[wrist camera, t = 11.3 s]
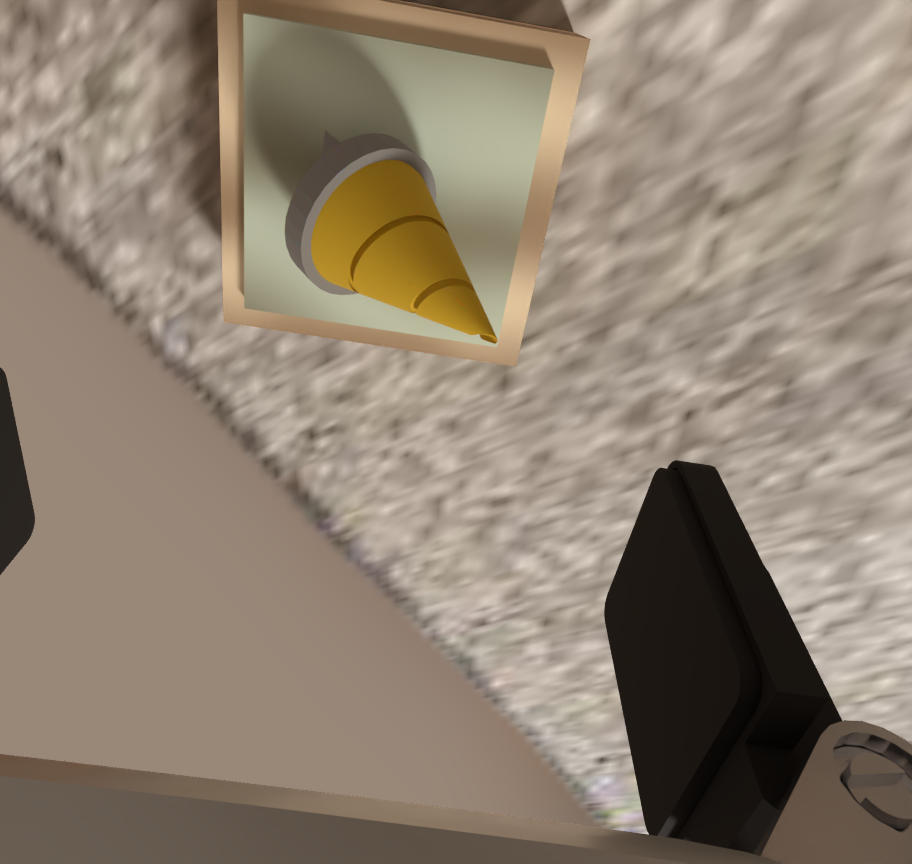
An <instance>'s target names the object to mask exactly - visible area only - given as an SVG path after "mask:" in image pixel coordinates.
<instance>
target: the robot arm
mask: <svg viewBox="0 0 912 864" xmlns="http://www.w3.org/2000/svg"><path fill="white" fill-rule="evenodd" d="M34 523H35V516H34V509H33V505H32V500H31V495H30V490H29V486H28V481H27V475H26V470H25V466H24V461H23V456H22V451H21V446H20V441H19V436H18V431H17V427H16V422H15V417H14V412H13V407H12V402H11V397H10V392H9V388H8V382H7V378H6V375H5V372H4V371H3V370H2V369H1V368H0V575H1V573H2V572H3V571H4V570H5V568H6V567H7V566H8V565H9V563H10V562H11V561H12V560H13V559H14V557H15V556H16V555H17V554H18V552H19V551H20V550H21V549H22V547H23V546H24V545H25V544H26V543H27V541H28V540H29V538H30V536H31V534H32V532H33V528H34ZM604 614H605V624H606V629H607V634H608V639H609V644H610V649H611V654H612V659H613V664H614V669H615V674H616V679H617V684H618V689H619V694H620V700H621V705H622V710H623V715H624V720H625V725H626V730H627V735H628V740H629V745H630V750H631V755H632V760H633V765H634V770H635V775H636V780H637V785H638V791H639V796H640V801H641V806H642V811H643V816H644V821H645V825H646V829H647V831H648V833H649V835H647V834H640V833H633V832H626V831H619V830H612V829H605V828H598V827H591V826H584V825H577V824H569V823H562V822H555V821H548V820H541V819H533V818H525V817H517V816H509V815H501V814H492V813H485V812H477V811H469V810H461V809H453V808H445V807H437V806H429V805H421V804H413V803H405V802H397V801H389V800H380V799H372V798H365V797H357V796H348V795H341V794H333V793H324V792H316V791H308V790H300V789H292V788H283V787H275V786H266V785H258V784H250V783H241V782H233V781H225V780H217V779H208V778H200V777H191V776H183V775H175V774H166V773H157V772H149V771H141V770H132V769H124V768H116V767H107V766H98V765H90V764H82V763H73V762H65V761H56V760H48V759H39V758H30V757H21V756H13V755H4V754H0V864H912V745H911V744H910V743H909V742H907V741H906V740H905V739H903V738H901V737H899V736H897V735H895V734H894V733H892V732H890V731H888V730H886V729H884V728H882V727H879V726H875V725H872V724H869V723H866V722H863V721H846V720H844V721H842V719H841V717H840V715H839V713H838V711H837V709H836V707H835V705H834V703H833V701H832V699H831V697H830V695H829V693H828V691H827V689H826V687H825V685H824V683H823V681H822V679H821V677H820V675H819V673H818V671H817V669H816V667H815V665H814V663H813V661H812V659H811V657H810V655H809V653H808V650H807V648H806V646H805V644H804V642H803V640H802V638H801V636H800V634H799V632H798V630H797V628H796V626H795V624H794V622H793V620H792V618H791V616H790V614H789V612H788V610H787V608H786V606H785V604H784V602H783V600H782V598H781V596H780V594H779V592H778V590H777V588H776V586H775V584H774V582H773V580H772V578H771V576H770V574H769V572H768V571H767V569H766V568H765V566H764V565H763V563H762V561H761V559H760V557H759V555H758V552H757V550H756V548H755V546H754V544H753V542H752V540H751V538H750V536H749V534H748V532H747V530H746V528H745V526H744V524H743V522H742V520H741V518H740V516H739V514H738V512H737V510H736V508H735V506H734V504H733V502H732V500H731V498H730V495H729V493H728V491H727V489H726V487H725V485H724V483H723V481H722V479H721V477H720V475H719V473H718V471H717V470H716V468H715V467H713V466H710V465H703V464H697V463H690V462H684V461H677V460H675V461H673V462H672V463H671V464H670V465H669V466H668V468H667V469H665V468H659V469H658V470H657V471H656V472H655V474H654V476H653V479H652V481H651V484H650V486H649V489H648V492H647V494H646V497H645V499H644V502H643V504H642V507H641V510H640V512H639V515H638V517H637V520H636V522H635V525H634V528H633V530H632V533H631V535H630V538H629V540H628V543H627V546H626V548H625V551H624V553H623V556H622V558H621V561H620V564H619V566H618V569H617V571H616V574H615V576H614V579H613V582H612V584H611V587H610V589H609V592H608V594H607V598H606V602H605V611H604Z"/></svg>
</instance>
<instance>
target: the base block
mask: <svg viewBox="0 0 912 864" xmlns="http://www.w3.org/2000/svg"><path fill="white" fill-rule="evenodd" d="M217 20H218V70H219V119H220V168H221V218H222V267H223V316H224V322H228V323H234V324H241V325H247V326H254V327H261V328H267V329H274V330H280V331H287V332H293V333H300V334H306V335H313V336H319V337H326V338H333V339H339V340H346V341H352V342H359V343H365V344H372V345H378V346H385V347H392V348H398V349H405V350H411V351H418V352H424V353H431V354H437V355H444V356H450V357H457V358H464V359H470V360H477V361H483V362H490V363H496V364H503V365H509V366H516V363H517V359H518V355H519V350H520V346H521V341H522V337H523V333H524V328H525V324H526V319H527V315H528V311H529V306H530V302H531V297H532V293H533V289H534V284H535V280H536V276H537V271H538V267H539V262H540V258H541V254H542V249H543V245H544V240H545V236H546V232H547V227H548V223H549V218H550V214H551V210H552V205H553V201H554V196H555V192H556V188H557V183H558V179H559V174H560V170H561V166H562V161H563V157H564V152H565V148H566V144H567V139H568V135H569V130H570V126H571V122H572V117H573V113H574V108H575V104H576V100H577V95H578V91H579V86H580V82H581V78H582V73H583V69H584V64H585V60H586V56H587V51H588V47H589V42H590V39H588V38H586V37H584V36H581V35H579V34H577V33H574V32H569V31H564V30H559V29H553V28H548V27H542V26H537V25H531V24H526V23H521V22H515V21H510V20H504V19H499V18H494V17H488V16H483V15H477V14H472V13H467V12H461V11H456V10H450V9H445V8H439V7H434V6H429V5H423V4H418V3H412V2H407V1H402V0H217ZM325 130H326V131H327V132H328V133H329V134H331V135H332V136H333V137H334V138H335V139H336V140H337V141H339V142H340V143H341V142H343V141H345V140H347V139H350V138H353V137H356V136H359V135H363V134H372V133H378V134H385V135H389V136H392V137H394V138H396V139H399V140H400V141H401V142H402V143H404V144H405V145H406V146H407V147H408V148H410V149H411V150H412V151H413V152H415V153H416V154H417V155H418V156H419V157H421V158H422V159H423V160H424V161H425V162H426V163H427V165H428V166H429V168H430V169H431V171H432V174H433V177H434V180H435V186H436V203H435V205H436V207H437V209H438V211H439V213H440V216H441V218H442V220H443V222H444V224H445V226H446V229H447V231H448V233H449V235H450V237H451V239H452V242H453V244H454V246H455V248H456V250H457V252H458V255H459V257H460V259H461V261H462V263H463V265H464V268H465V270H466V272H467V274H468V276H469V278H470V280H471V283H472V285H473V287H474V289H475V291H476V294H477V296H478V298H479V300H480V302H481V304H482V306H483V309H484V311H485V313H486V315H487V317H488V319H489V322H490V324H491V326H492V328H493V330H494V333H495V335H496V337H497V340H498V341H497V343H496V344H494V343H491V342H488V341H485V340H483V339H481V338H480V335H479V334H477V335H469V334H466V333H464V332H461V331H458V330H456V329H453V328H450V327H448V326H445V325H442V324H439V323H437V322H434V321H431V320H429V319H426V318H423V317H421V316H418V315H417V314H416V313H410V312H407V311H405V310H402V309H399V308H397V307H394V306H391V305H389V304H386V303H383V302H381V301H378V300H375V299H373V298H370V297H367V296H364V295H362V294H359V293H356V294H351V295H337V294H330V293H328V292H325V291H323V290H321V289H319V288H318V287H317V286H316V285H315V284H313V283H312V282H311V281H310V280H309V279H308V278H307V277H306V276H305V275H304V273H303V272H302V271H301V270H300V269H299V268H298V267H297V266H296V265H295V263H294V262H293V260H292V259H291V257H290V255H289V252H288V249H287V247H286V241H285V232H284V231H285V220H286V214H287V211H288V207H289V204H290V201H291V198H292V196H293V194H294V192H295V190H296V188H297V186H298V184H299V183H300V181H301V180H302V178H303V177H304V175H305V174H306V172H307V171H308V170H309V169H310V168H311V167H312V165H313V164H314V163H315V162H316V161H317V160H318V159H319V158H320V157H321V154H322V148H323V141H324V135H325Z"/></svg>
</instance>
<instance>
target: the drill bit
mask: <svg viewBox="0 0 912 864" xmlns="http://www.w3.org/2000/svg"><path fill="white" fill-rule="evenodd" d="M435 203H436V186H435V180H434V177H433V174H432V171H431V169H430V168H429V166H428V165H427V163H426V162H425V161H424V160H423V159H422V158H421V157H419V156H418V155H417V154H416V153H415V152H413V151H412V150H411V149H410V148H408V147H407V146H406V145H405V144H404V143H402V142H401V141H400V140H399V139H396V138H394V137H392V136H389V135H385V134H378V133H372V134H363V135H359V136H356V137H353V138H350V139H347V140H345V141H343V142H341V143H340V142H339V141H337V140H336V139H335V138H334V137H333V136H332V135H331V134H329V133H328V132H327V131H326V130H325V135H324V141H323V148H322V154H321V157H320V158H319V159H318V160H317V161H316V162H315V163H314V164H313V165H312V167H311V168H310V169H309V170H308V171H307V172H306V174H305V175H304V177H303V178H302V180H301V181H300V183H299V184H298V186H297V188H296V190H295V192H294V194H293V196H292V198H291V201H290V204H289V207H288V211H287V214H286V220H285V231H284V232H285V241H286V247H287V249H288V252H289V255H290V257H291V259H292V260H293V262H294V263H295V265H296V266H297V267H298V268H299V269H300V270H301V271H302V272H303V273H304V275H305V276H306V277H307V278H308V279H309V280H310V281H311V282H312V283H313V284H315V285H316V286H317V287H318V288H319V289H321V290H323V291H325V292H328V293H330V294H337V295H351V294H356V293H359V294H362V295H364V296H367V297H370V298H373V299H375V300H378V301H381V302H383V303H386V304H389V305H391V306H394V307H397V308H399V309H402V310H405V311H407V312H410V313H416V314H417V315H418V316H421V317H423V318H426V319H429V320H431V321H434V322H437V323H439V324H442V325H445V326H448V327H450V328H453V329H456V330H458V331H461V332H464V333H466V334H469V335H477V334H479V335H480V338H481V339H483V340H485V341H488V342H491V343H494V344H496V343H497V341H498V340H497V337H496V335H495V333H494V330H493V328H492V326H491V324H490V322H489V319H488V317H487V315H486V313H485V311H484V309H483V306H482V304H481V302H480V300H479V298H478V296H477V294H476V291H475V289H474V287H473V285H472V283H471V280H470V278H469V276H468V274H467V272H466V270H465V268H464V265H463V263H462V261H461V259H460V257H459V255H458V252H457V250H456V248H455V246H454V244H453V242H452V239H451V237H450V235H449V233H448V231H447V229H446V226H445V224H444V222H443V220H442V218H441V216H440V213H439V211H438V209H437V207H436V205H435Z"/></svg>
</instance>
